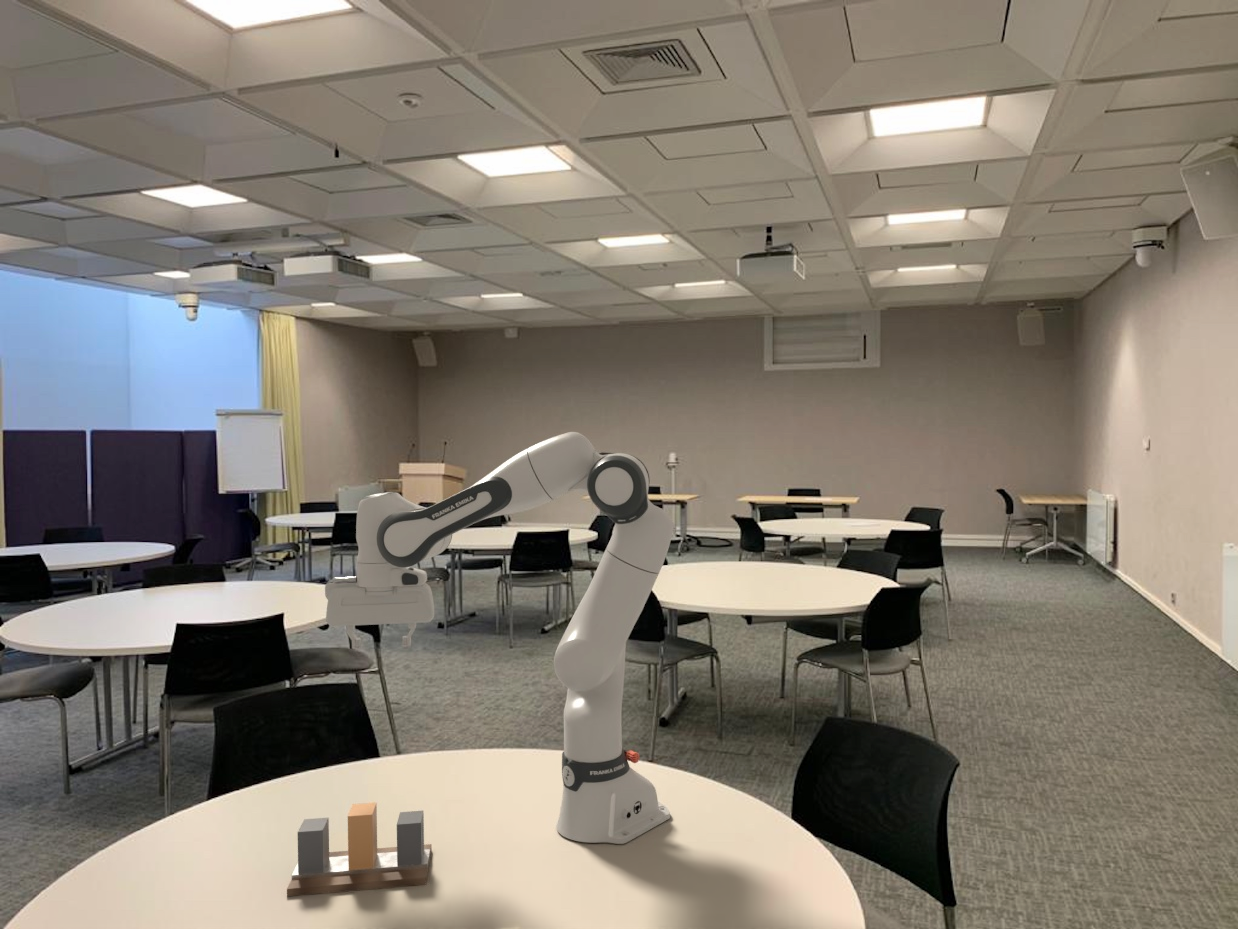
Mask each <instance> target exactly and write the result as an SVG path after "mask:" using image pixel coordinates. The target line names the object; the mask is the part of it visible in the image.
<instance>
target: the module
mask: <svg viewBox="0 0 1238 929" xmlns="http://www.w3.org/2000/svg"><path fill="white" fill-rule="evenodd" d="M377 803H378V802H364V803H353V804H352V805H351V807H350V810H349V813H348V815H347V842H348V843H347V847H348V848H347V851H348V865H349V870H354V869H366V868H373V867H374V864H375V860H376V857H377V848H378V819H377V818H378V814H377V812H378V811H377V810H378V809H377V806H378V805H377Z"/></svg>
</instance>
